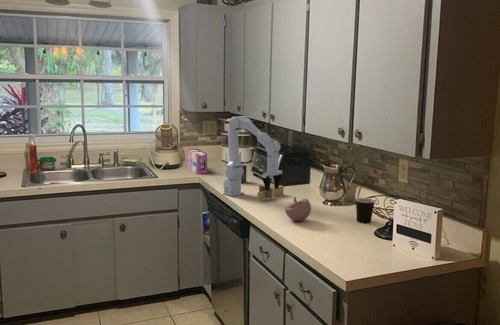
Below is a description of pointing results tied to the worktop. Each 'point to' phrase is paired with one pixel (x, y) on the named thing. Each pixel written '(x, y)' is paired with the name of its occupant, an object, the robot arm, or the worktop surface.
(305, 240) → the worktop surface
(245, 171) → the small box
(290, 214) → the mortar and pestle
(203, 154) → the gum box
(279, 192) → the carton
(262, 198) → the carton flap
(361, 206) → the coffee mug
